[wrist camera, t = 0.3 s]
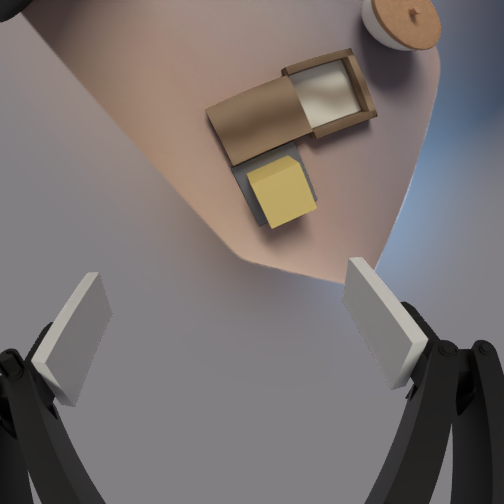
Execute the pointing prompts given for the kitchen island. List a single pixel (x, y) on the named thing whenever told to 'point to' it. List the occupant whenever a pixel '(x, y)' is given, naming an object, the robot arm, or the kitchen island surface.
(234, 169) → the mat
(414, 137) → the kitchen island surface
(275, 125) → the brown tray
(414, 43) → the lidded jar
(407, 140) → the kitchen island surface
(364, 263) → the robot arm
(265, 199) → the block
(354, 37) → the kitchen island surface
